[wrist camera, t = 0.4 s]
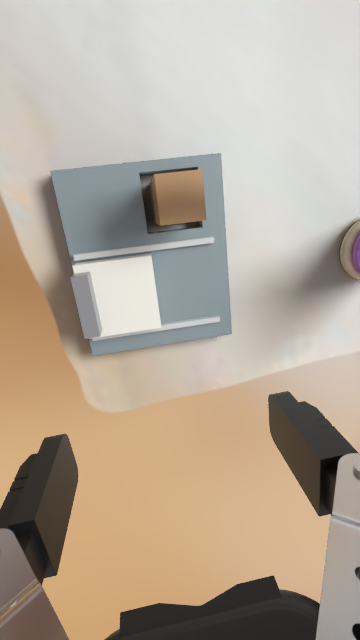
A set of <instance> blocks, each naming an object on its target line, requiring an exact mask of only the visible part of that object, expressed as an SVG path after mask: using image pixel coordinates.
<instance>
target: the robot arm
mask: <svg viewBox="0 0 360 640" xmlns="http://www.w3.org/2000/svg"><path fill="white" fill-rule="evenodd" d="M268 402H269V425H270V432H271V435H272V438H273V440H274V442H275V444H276V446H277V448H278V449H279V451H280V452H281V454H282V456H283V458H284V459H285V461H286V462H287V464H288V466H289V467H290V469H291V471H292V473H293V474H294V476H295V477H296V479H297V481H298V482H299V484H300V486H301V487H302V489H303V491H304V492H305V494H306V496H307V497H308V499H309V501H310V502H311V504H312V506H313V507H314V509H315V510H316V512H317V514H318V516H323V515H328V514H331V518H330V526H329V534H328V542H327V550H326V560H325V567H324V575H323V583H322V592H321V600H320V604H319V603H318V602H316V601H314V600H312V599H310V598H308V597H306V596H304V595H301V594H298V593H296V592H292V591H287V590H279V588H278V586H277V583H276V580H275V578H274V576H270V577H265V578H261V579H257V580H253V581H249V582H245V583H240V584H237V585H235V586H234V587H232V588H230V589H229V590H227V591H225V592H224V593H222V594H220V595H219V596H217V597H215V598H214V599H212V600H210V601H209V602H207V603H205V604H204V605H201V606H190V605H176V604H163V603H158V604H154V605H150V606H146V607H142V608H138V609H134V610H129V611H125V612H121V613H120V629H119V630H117V631H115V632H114V633H112V634H111V635H110V636H109V637H107V638H106V639H105V640H360V454H359V453H358V452H357V451H356V450H355V449H354V448H353V447H352V446H351V445H350V444H349V442H348V441H347V440H346V439H345V438H344V437H343V436H342V435H341V434H340V433H339V432H338V431H337V430H336V429H335V427H334V426H332V425H331V423H330V422H329V421H328V420H327V419H325V417H324V416H323V414H322V413H320V411H319V410H318V409H317V408H316V407H314V406H312V405H310V404H308V403H307V402H305V401H304V402H297V400H296V399H295V398H294V397H293V396H292V395H291V393H290V392H288V391H287V392H281V393H276V394H271V395H269V398H268ZM77 482H78V469H77V464H76V460H75V457H74V454H73V451H72V448H71V444H70V441H69V438H68V436H67V435H66V434H62V435H56V436H52V437H46V438H44V440H43V442H42V445H41V447H40V449H39V452H38V453H37V454H32V455H30V456H29V457H28V459H27V460H26V461H25V462H24V463H23V464H22V465H21V466H20V468H19V470H18V473H17V475H16V477H15V481H14V482H13V483H12V486H11V488H10V492H8V494H7V496H6V498H5V500H4V503H3V505H2V507H1V509H0V640H69V638H68V636H67V634H66V632H65V630H64V628H63V626H62V625H61V623H60V621H59V619H58V617H57V615H56V613H55V611H54V609H53V607H52V605H51V603H50V601H49V599H48V597H47V595H46V593H45V591H44V589H43V587H42V582H43V579H44V578H47V577H51V576H56V575H57V572H58V568H59V563H60V559H61V554H62V549H63V545H64V541H65V536H66V532H67V527H68V523H69V518H70V514H71V509H72V505H73V501H74V496H75V492H76V487H77Z"/></svg>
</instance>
